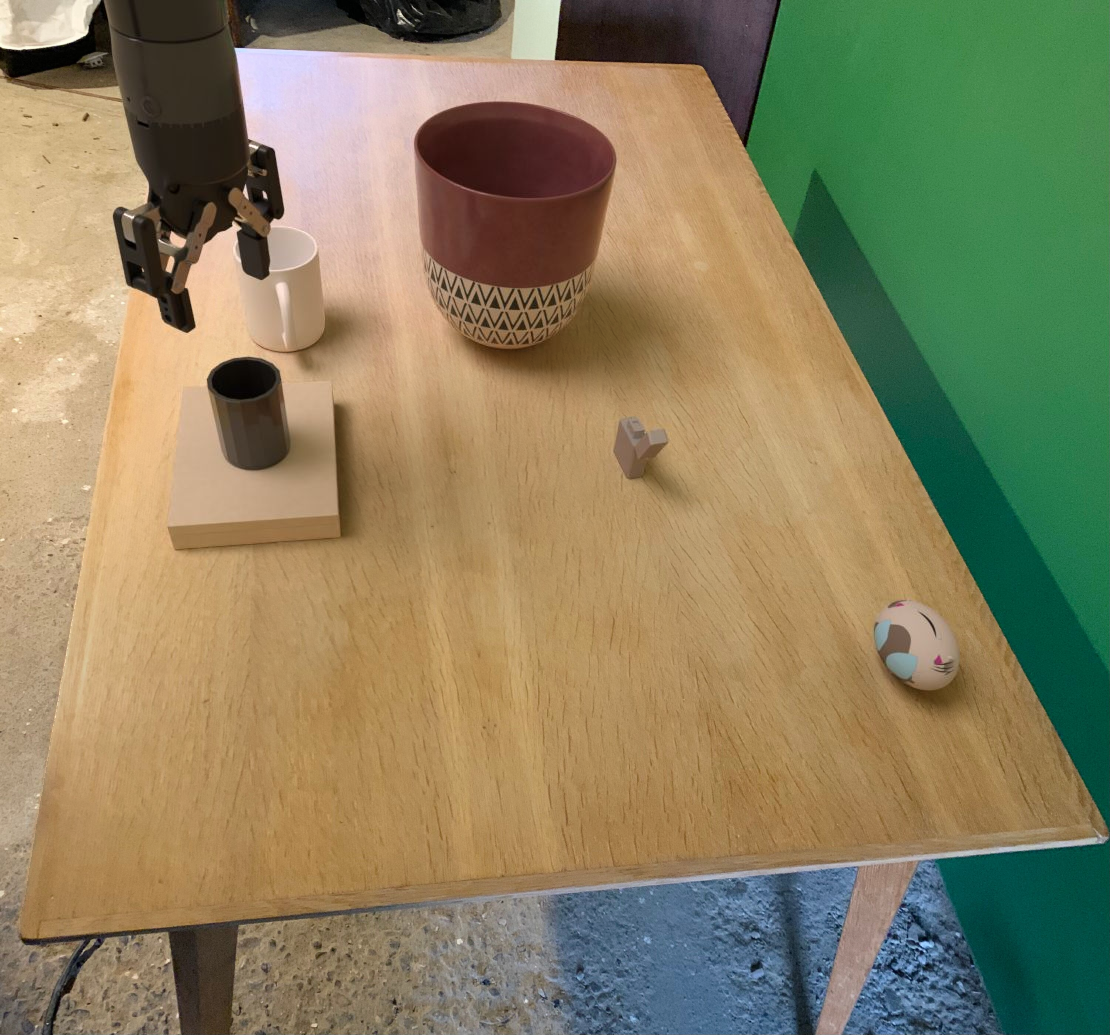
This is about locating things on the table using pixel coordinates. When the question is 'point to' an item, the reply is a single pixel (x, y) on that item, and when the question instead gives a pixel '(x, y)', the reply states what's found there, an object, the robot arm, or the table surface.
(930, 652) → the figurine
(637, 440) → the grey blocky piece
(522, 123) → the planter
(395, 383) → the table surface
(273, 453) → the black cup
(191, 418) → the plate
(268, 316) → the cup
